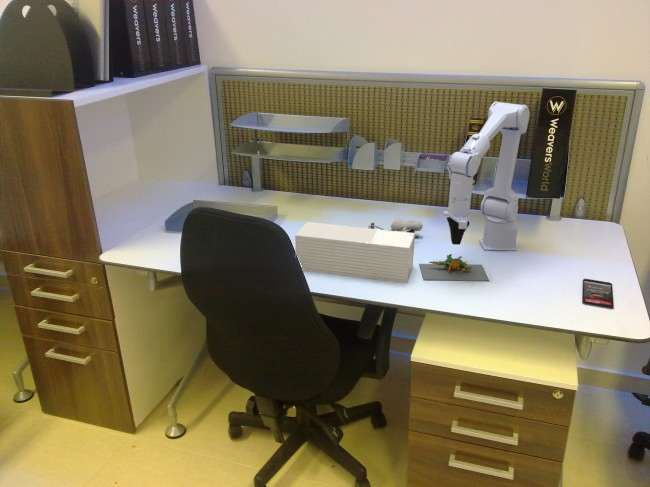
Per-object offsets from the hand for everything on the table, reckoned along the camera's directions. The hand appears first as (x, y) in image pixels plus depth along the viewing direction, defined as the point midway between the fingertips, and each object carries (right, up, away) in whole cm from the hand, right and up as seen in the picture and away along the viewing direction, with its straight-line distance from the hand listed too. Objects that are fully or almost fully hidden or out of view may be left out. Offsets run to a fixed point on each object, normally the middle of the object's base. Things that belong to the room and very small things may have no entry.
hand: (455, 243), depth 159 cm
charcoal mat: (0, -8, +3) cm, 9 cm away
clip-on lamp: (-14, +2, +28) cm, 31 cm away
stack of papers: (-28, -7, +6) cm, 29 cm away
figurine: (0, -4, +8) cm, 9 cm away
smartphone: (+35, -14, -8) cm, 39 cm away
